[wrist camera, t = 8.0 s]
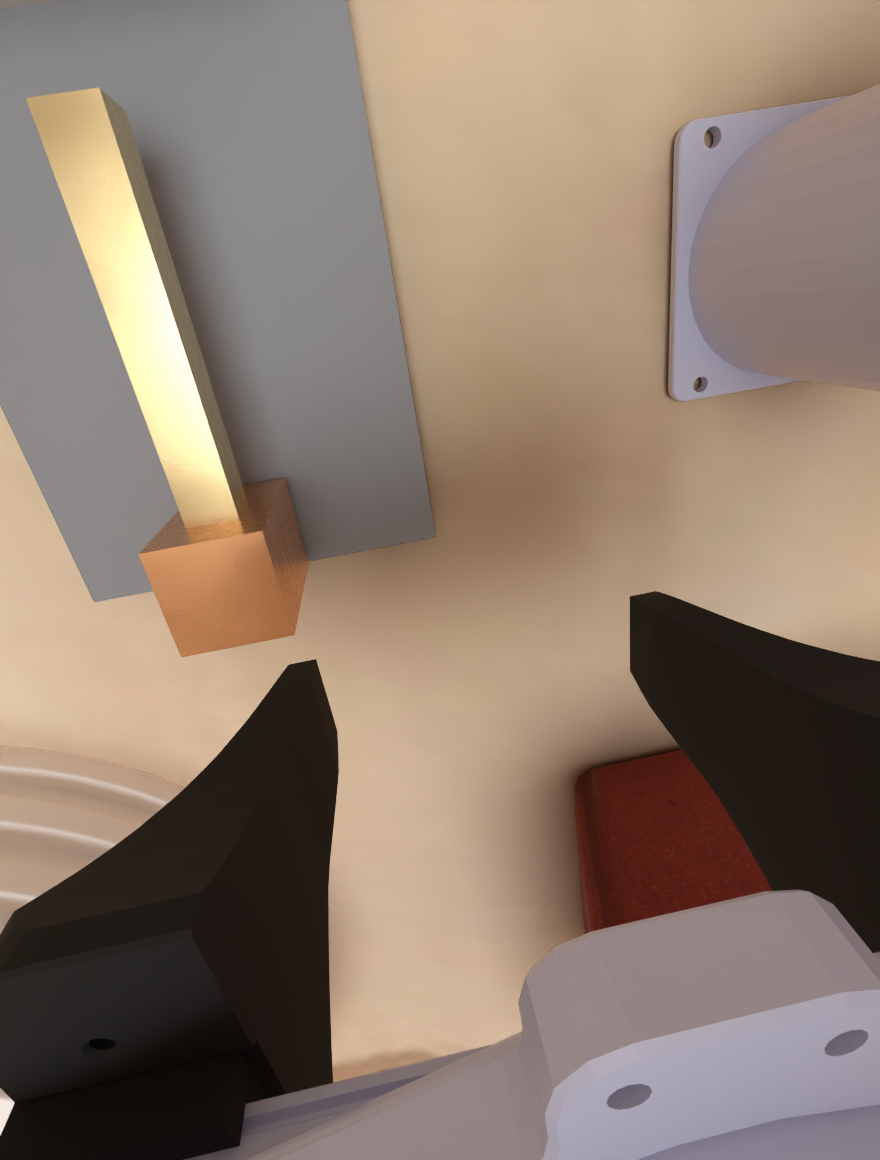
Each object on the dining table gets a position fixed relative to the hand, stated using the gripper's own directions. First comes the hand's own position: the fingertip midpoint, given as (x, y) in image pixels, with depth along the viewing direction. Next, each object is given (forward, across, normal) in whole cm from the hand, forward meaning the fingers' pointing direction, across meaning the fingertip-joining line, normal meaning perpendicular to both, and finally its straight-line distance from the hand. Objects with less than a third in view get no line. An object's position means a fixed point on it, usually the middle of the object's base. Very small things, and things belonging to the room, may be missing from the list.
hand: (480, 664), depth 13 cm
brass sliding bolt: (+8, +6, -6) cm, 12 cm away
